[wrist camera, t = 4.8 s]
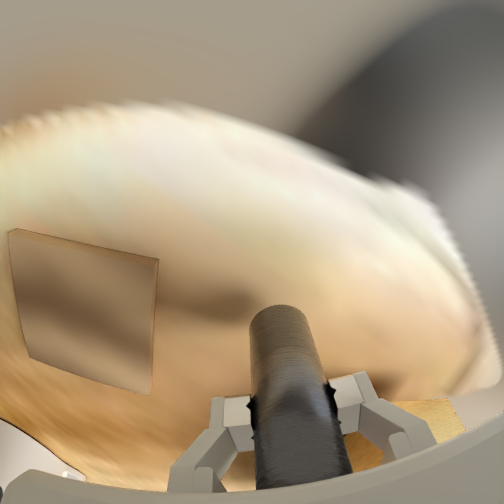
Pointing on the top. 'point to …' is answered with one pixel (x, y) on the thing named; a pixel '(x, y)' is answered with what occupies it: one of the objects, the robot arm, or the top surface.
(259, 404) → the steel cylinder
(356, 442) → the chuck collar
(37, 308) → the wooden mat
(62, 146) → the top surface
